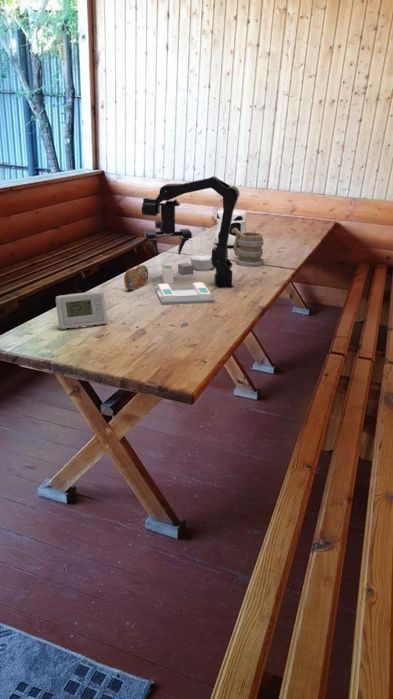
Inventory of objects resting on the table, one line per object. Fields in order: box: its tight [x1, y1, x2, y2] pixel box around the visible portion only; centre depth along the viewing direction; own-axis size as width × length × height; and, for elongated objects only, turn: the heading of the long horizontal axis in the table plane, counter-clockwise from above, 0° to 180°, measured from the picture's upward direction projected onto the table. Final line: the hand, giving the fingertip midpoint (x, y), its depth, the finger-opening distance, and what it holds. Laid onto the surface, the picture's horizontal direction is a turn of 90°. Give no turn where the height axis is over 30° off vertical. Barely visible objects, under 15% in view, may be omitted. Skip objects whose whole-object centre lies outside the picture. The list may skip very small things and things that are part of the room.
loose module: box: [161, 264, 175, 284], centre depth 230 cm, size 4×6×6 cm, turn 12°
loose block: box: [177, 262, 195, 276], centre depth 243 cm, size 5×5×4 cm
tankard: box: [232, 228, 264, 268], centre depth 262 cm, size 20×13×15 cm, turn 34°
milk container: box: [213, 208, 247, 248], centre depth 293 cm, size 17×17×18 cm
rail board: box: [154, 281, 215, 306], centre depth 213 cm, size 20×18×3 cm
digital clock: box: [55, 291, 108, 330], centre depth 181 cm, size 16×9×11 cm, turn 103°
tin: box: [123, 264, 149, 291], centre depth 221 cm, size 15×3×8 cm, turn 154°
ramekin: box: [189, 253, 214, 271], centre depth 251 cm, size 11×11×5 cm
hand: (168, 254), depth 227 cm, fingers open, 9 cm apart
